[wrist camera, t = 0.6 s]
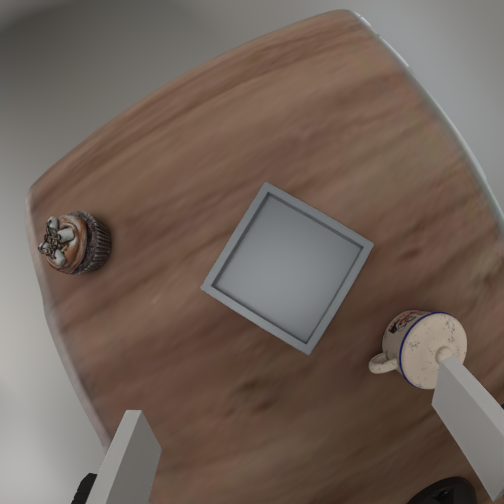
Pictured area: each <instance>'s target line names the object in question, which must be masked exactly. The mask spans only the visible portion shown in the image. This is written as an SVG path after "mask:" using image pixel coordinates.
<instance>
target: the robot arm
mask: <svg viewBox="0 0 504 504" xmlns="http://www.w3.org/2000/svg"><path fill="white" fill-rule="evenodd" d="M431 405H432V406H433V408H434V409H435V411H436V412H437V413H438V415H439V416H440V418H441V419H442V421H443V422H444V424H445V425H446V427H447V428H448V430H449V431H450V433H451V435H452V436H453V438H454V439H455V441H456V442H457V444H458V445H459V447H460V448H461V450H462V452H463V453H464V455H465V456H466V458H467V460H468V461H469V463H470V464H471V466H472V468H473V469H474V471H475V472H476V474H477V476H478V477H479V479H480V481H481V482H482V484H483V486H484V487H485V489H486V491H487V492H488V494H489V496H490V498H491V499H492V501H495V500H496V499H498V498H499V497H501V496H502V495H504V404H502V405H499V404H498V403H497V402H496V400H495V399H494V398H493V397H492V396H491V395H490V394H489V393H488V392H487V390H486V389H485V388H484V387H483V386H482V385H481V384H480V383H479V382H478V381H477V380H476V378H475V377H474V376H473V375H472V374H471V373H470V372H469V371H468V370H467V369H466V368H465V367H464V366H463V365H462V364H461V363H460V361H459V360H458V359H457V358H456V357H455V356H451V357H449V358H446V359H443V360H440V366H439V371H438V376H437V381H436V386H435V391H434V395H433V400H432V404H431ZM161 451H162V449H161V447H160V445H159V443H158V441H157V439H156V438H155V436H154V434H153V432H152V430H151V428H150V426H149V424H148V422H147V420H146V418H145V416H144V414H143V412H142V410H126V412H125V414H124V416H123V419H122V421H121V423H120V425H119V427H118V430H117V432H116V434H115V436H114V438H113V441H112V443H111V445H110V447H109V450H108V452H107V454H106V457H105V459H104V461H103V463H102V466H101V468H100V471H99V473H98V474H92V473H89V474H88V475H87V476H86V477H85V478H84V479H83V480H82V481H81V483H80V485H79V487H78V489H77V493H76V494H75V496H74V500H73V501H72V503H71V504H147V503H148V499H149V496H150V492H151V488H152V484H153V481H154V477H155V473H156V469H157V466H158V462H159V459H160V455H161ZM408 504H478V503H477V498H476V493H475V490H474V488H473V486H472V485H471V484H470V483H469V482H468V481H467V480H466V479H464V478H458V477H457V478H449V479H445V480H442V481H439V482H437V483H435V484H433V485H431V486H429V487H428V488H426V489H424V490H423V491H421V492H420V493H419V494H417V495H416V496H415V497H414V498H413V499H411V500H410V501H409V502H408Z"/></svg>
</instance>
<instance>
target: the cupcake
mask: <svg viewBox="0 0 504 504" xmlns="http://www.w3.org/2000/svg"><path fill="white" fill-rule="evenodd" d="M46 231H47V234H45V235H44V240H45V241H44V243H41V244H40V245H39V247H38V249H39V251H40V252H41V253H42V254H45V256H46V259H47V261H48V263H49V264H50V266H51V267H52V268H54V269H56V270H57V271H60V272H63V273H66V274H72V275H75V274H76V275H77V274H81V273H84V272H89V271H94V270H97V269H99V268H100V267H102V266H103V265H104V263H105V262H106V260H107V259H108V257H109V253H110V251H111V238H110V234H109V232H108V230H107V229H106V228H105V227H104V226H103V225H102V224H101V223H99V222H98V221H96V220H95V219H94V218H93V217H92V216H91V215H89V214H87V213H86V212H83V211H82V212H81V211H77V212H73V213H70V214H64V215H61V216H60V217H58V218H57V219H56V218H55V217H50V218H49V220H48V222H47V223H46Z"/></svg>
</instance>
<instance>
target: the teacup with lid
mask: <svg viewBox="0 0 504 504" xmlns="http://www.w3.org/2000/svg"><path fill="white" fill-rule="evenodd" d="M382 349H383V353H381V354H378V355H376V356H375V357H373V358H372V359H371V360H370V361H369V369H370V371H371V372H372V373H385V372H388V371H391V370H394V369H396V370H397V371H398V372H399V373H401V374H402V375H403V376H404V378H405V379H406V380H407V381H408V382H409V383H410V384H411V385H413V386H414V387H417V388H420V389H434V388H435V386H436V381H437V376H438V371H439V366H440V360H443V359H446V358H449V357H451V356H455V357H456V358H457V359H458V360H459V361H460V363H461V364H463V362H464V359H465V356H466V351H467V339H466V334H465V331H464V329H463V327H462V325H461V324H460V322H459V321H458V320H457V319H456V318H455V317H453V316H452V315H450V314H447V313H444V312H434V313H430V312H424V311H418V310H409V311H405V312H403V313H401V314H399V315H398V316H396V317H395V318H394V319H393V320H392V321H391V322H390V323H389V325H388V326H387V328H386V330H385V333H384V336H383V341H382ZM385 361H387V362H385Z"/></svg>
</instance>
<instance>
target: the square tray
mask: <svg viewBox="0 0 504 504" xmlns="http://www.w3.org/2000/svg"><path fill="white" fill-rule="evenodd" d="M373 246H374V244H373V243H372V242H370V241H369V240H367V239H365V238H364V237H362V236H360V235H359V234H357V233H355V232H354V231H352V230H350V229H349V228H347V227H345V226H344V225H342V224H340V223H339V222H337V221H335V220H334V219H332V218H330V217H328V216H327V215H325V214H323V213H321V212H320V211H318V210H316V209H314V208H313V207H311V206H309V205H307V204H306V203H304V202H302V201H300V200H298V199H297V198H295V197H293V196H291V195H289V194H288V193H286V192H284V191H282V190H280V189H278V188H277V187H275V186H273V185H271V184H269V183H267V182H265V183H264V184H263V186H262V187H261V189H260V191H259V192H258V194H257V196H256V197H255V199H254V200H253V202H252V204H251V205H250V207H249V208H248V210H247V212H246V213H245V215H244V217H243V218H242V220H241V221H240V223H239V225H238V226H237V228H236V230H235V231H234V233H233V235H232V236H231V238H230V240H229V241H228V243H227V244H226V246H225V248H224V249H223V251H222V253H221V254H220V256H219V258H218V259H217V261H216V263H215V264H214V266H213V268H212V269H211V271H210V273H209V274H208V276H207V278H206V279H205V281H204V283H203V284H202V286H201V288H200V289H202V290H203V291H205V292H206V293H208V294H209V295H211V296H213V297H214V298H216V299H217V300H219V301H220V302H222V303H223V304H225V305H227V306H228V307H230V308H231V309H233V310H234V311H236V312H238V313H239V314H241V315H242V316H244V317H246V318H247V319H249V320H250V321H252V322H254V323H255V324H257V325H259V326H260V327H262V328H263V329H265V330H267V331H268V332H270V333H272V334H273V335H275V336H277V337H278V338H280V339H282V340H283V341H285V342H287V343H288V344H290V345H292V346H293V347H295V348H297V349H298V350H300V351H302V352H304V353H305V354H307V355H310V353H311V352H312V350H313V348H314V347H315V345H316V344H317V342H318V341H319V339H320V338H321V336H322V334H323V333H324V331H325V330H326V328H327V326H328V325H329V323H330V321H331V320H332V318H333V317H334V315H335V313H336V312H337V310H338V308H339V306H340V305H341V303H342V301H343V300H344V298H345V296H346V295H347V293H348V291H349V289H350V288H351V286H352V284H353V282H354V281H355V279H356V277H357V275H358V273H359V272H360V270H361V268H362V266H363V264H364V262H365V261H366V259H367V257H368V255H369V253H370V251H371V249H372V247H373Z"/></svg>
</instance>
